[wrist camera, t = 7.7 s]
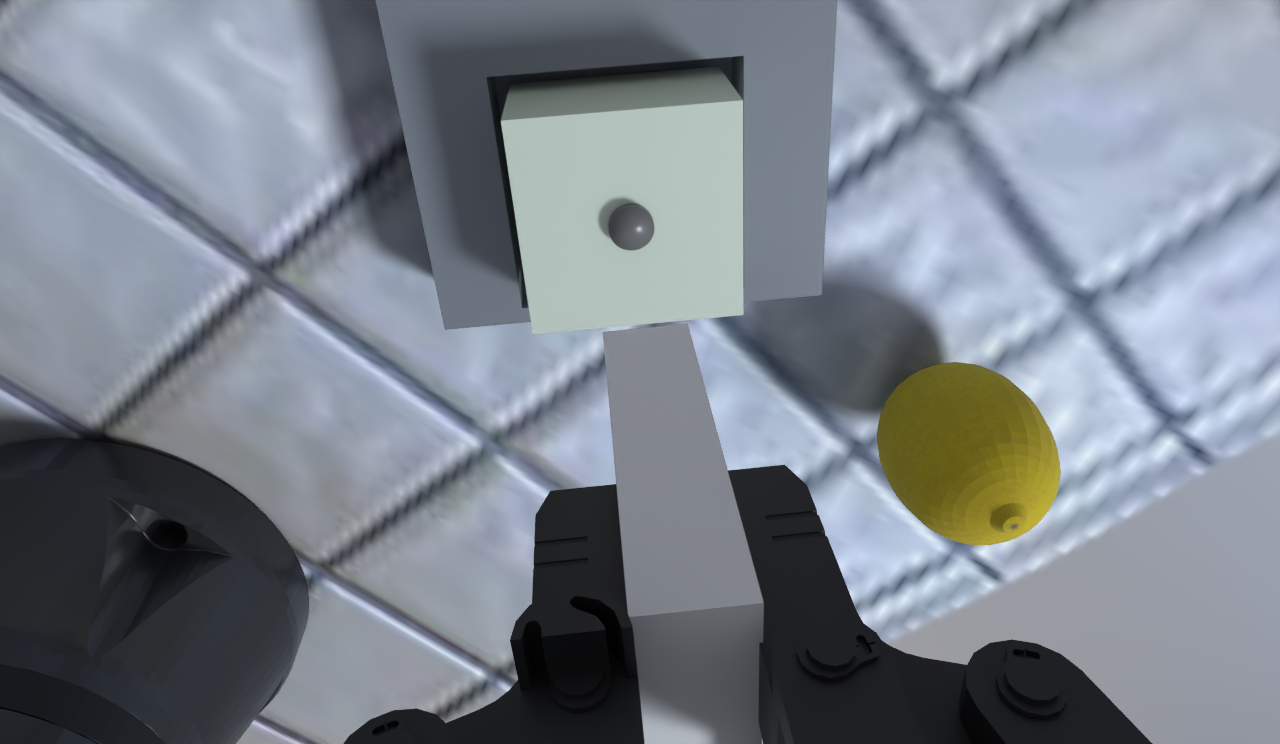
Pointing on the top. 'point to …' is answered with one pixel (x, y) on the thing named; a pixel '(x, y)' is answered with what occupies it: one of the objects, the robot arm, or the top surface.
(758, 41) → the console
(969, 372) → the lemon
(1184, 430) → the top surface
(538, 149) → the tile one
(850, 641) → the robot arm
